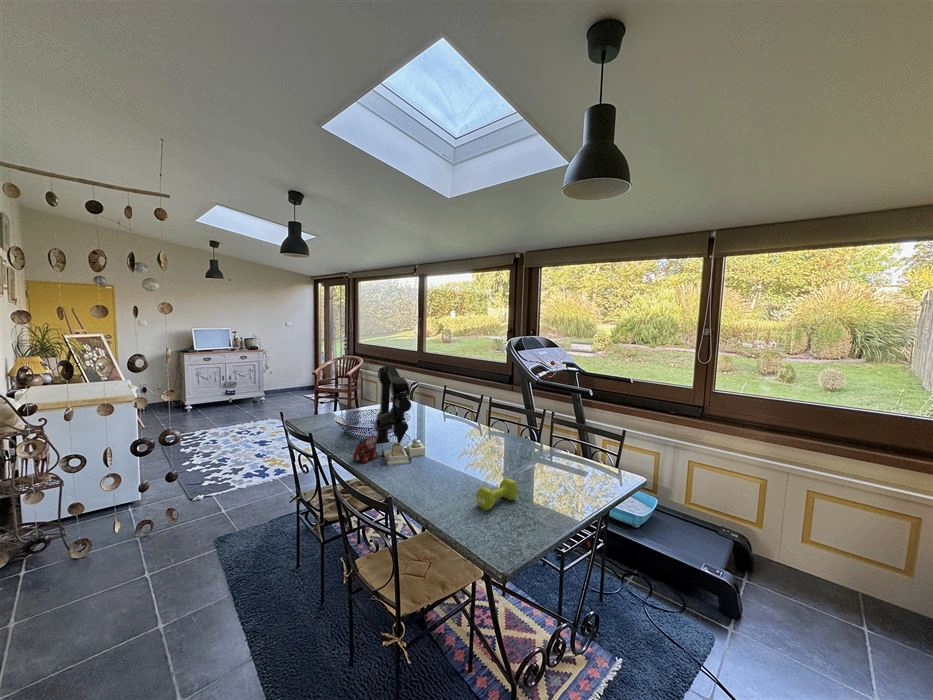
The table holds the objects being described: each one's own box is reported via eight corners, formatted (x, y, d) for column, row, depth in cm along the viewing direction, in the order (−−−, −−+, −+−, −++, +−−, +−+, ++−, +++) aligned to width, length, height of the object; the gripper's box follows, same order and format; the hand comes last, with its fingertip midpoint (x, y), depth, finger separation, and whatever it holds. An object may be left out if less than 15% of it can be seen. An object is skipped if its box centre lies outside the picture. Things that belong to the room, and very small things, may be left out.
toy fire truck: (349, 462, 162) (349, 439, 161) (370, 454, 172) (370, 433, 171) (359, 466, 158) (360, 443, 157) (380, 457, 168) (381, 436, 167)
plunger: (411, 446, 177) (411, 439, 177) (418, 445, 178) (419, 438, 178) (412, 448, 174) (413, 441, 173) (420, 448, 175) (420, 441, 175)
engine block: (391, 456, 168) (392, 442, 168) (400, 455, 170) (400, 441, 169) (392, 459, 164) (393, 445, 164) (401, 458, 166) (402, 444, 165)
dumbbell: (488, 514, 123) (489, 494, 122) (473, 504, 129) (474, 485, 128) (519, 501, 134) (520, 482, 133) (504, 492, 140) (505, 474, 139)
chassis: (381, 454, 172) (381, 448, 172) (405, 452, 177) (406, 446, 176) (385, 465, 159) (385, 459, 159) (411, 463, 163) (411, 456, 163)
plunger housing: (406, 451, 178) (407, 444, 178) (421, 449, 181) (421, 443, 181) (409, 456, 172) (410, 449, 171) (424, 455, 174) (425, 448, 174)
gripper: (378, 402, 171) (377, 434, 172) (383, 412, 153) (382, 447, 155) (401, 402, 175) (400, 433, 176) (409, 411, 157) (407, 445, 158)
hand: (397, 439), depth 166 cm, fingers open, 9 cm apart
